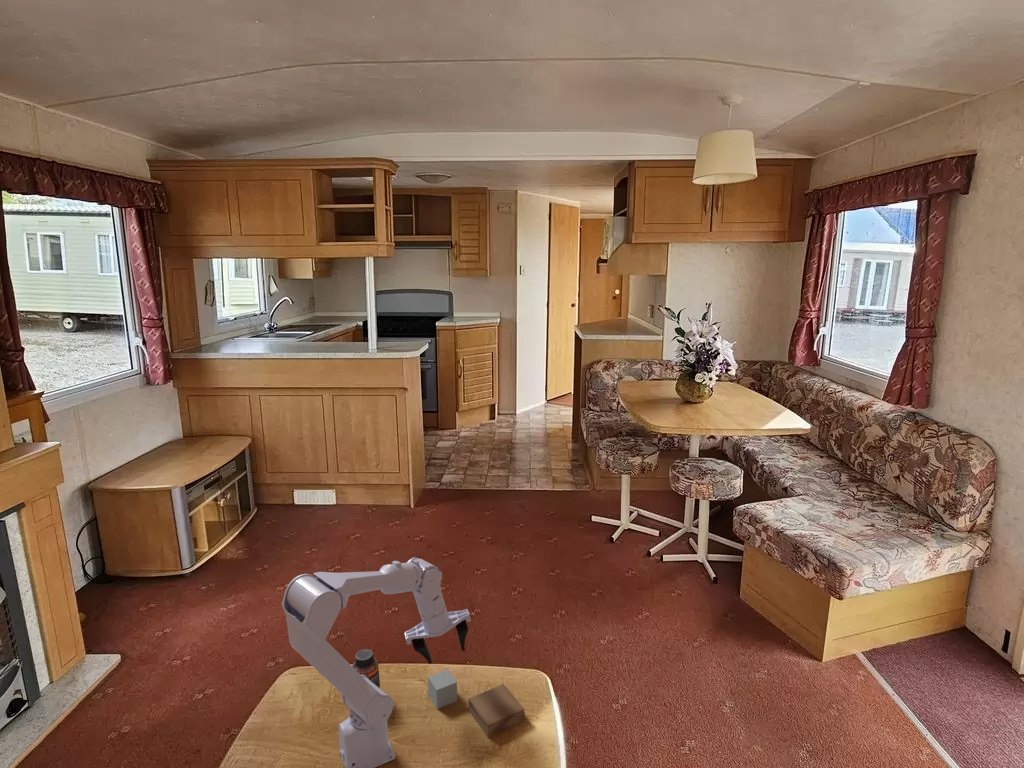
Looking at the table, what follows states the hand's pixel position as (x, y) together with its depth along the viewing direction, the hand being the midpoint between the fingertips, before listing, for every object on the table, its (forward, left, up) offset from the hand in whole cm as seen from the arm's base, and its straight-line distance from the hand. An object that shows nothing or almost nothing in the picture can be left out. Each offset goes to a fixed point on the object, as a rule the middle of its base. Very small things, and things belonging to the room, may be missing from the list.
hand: (446, 653), depth 132 cm
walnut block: (+7, -10, -12) cm, 17 cm away
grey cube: (-1, +1, -12) cm, 12 cm away
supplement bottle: (-16, +10, -12) cm, 22 cm away
